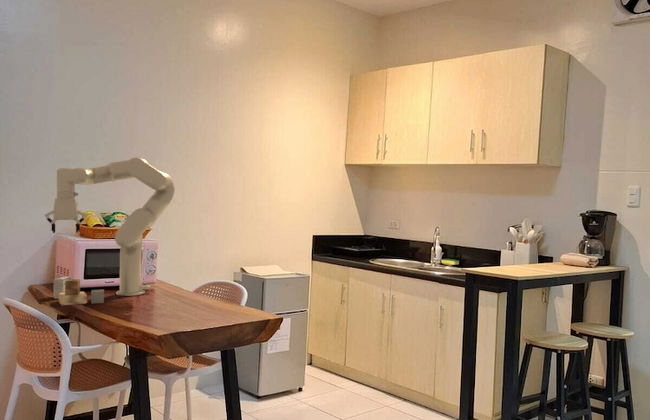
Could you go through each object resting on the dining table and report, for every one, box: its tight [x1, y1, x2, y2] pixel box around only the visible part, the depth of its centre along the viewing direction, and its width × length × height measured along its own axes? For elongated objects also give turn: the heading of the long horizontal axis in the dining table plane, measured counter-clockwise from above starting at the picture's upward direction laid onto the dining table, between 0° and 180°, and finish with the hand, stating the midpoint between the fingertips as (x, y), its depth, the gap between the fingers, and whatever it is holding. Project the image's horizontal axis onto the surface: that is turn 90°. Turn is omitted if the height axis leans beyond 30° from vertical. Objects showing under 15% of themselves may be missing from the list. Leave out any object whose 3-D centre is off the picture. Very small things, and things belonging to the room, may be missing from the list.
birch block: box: [58, 291, 88, 306], centre depth 248 cm, size 10×10×4 cm
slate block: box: [90, 289, 105, 304], centre depth 249 cm, size 5×5×5 cm
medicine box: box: [53, 276, 72, 300], centre depth 260 cm, size 8×4×9 cm, turn 179°
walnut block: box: [65, 278, 81, 295], centre depth 248 cm, size 5×5×6 cm
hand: (65, 232), depth 267 cm, fingers open, 9 cm apart
